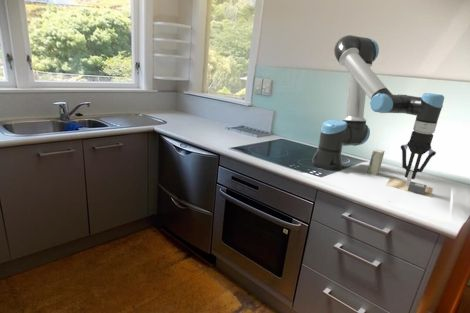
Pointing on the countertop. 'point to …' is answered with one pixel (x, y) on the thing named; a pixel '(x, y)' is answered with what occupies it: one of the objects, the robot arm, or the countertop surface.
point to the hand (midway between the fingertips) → (407, 185)
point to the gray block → (417, 188)
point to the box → (375, 161)
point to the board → (401, 185)
